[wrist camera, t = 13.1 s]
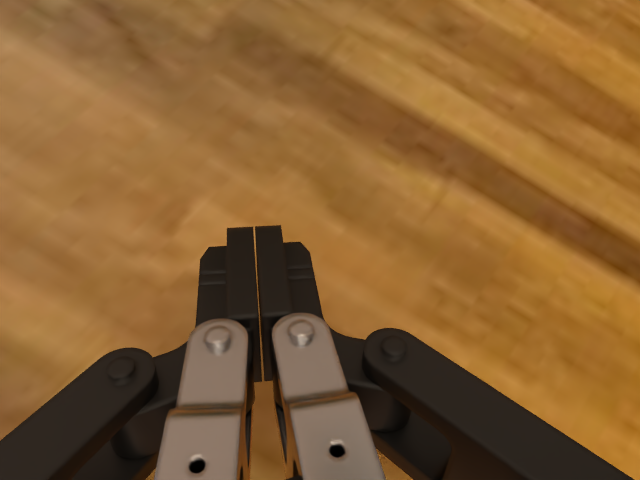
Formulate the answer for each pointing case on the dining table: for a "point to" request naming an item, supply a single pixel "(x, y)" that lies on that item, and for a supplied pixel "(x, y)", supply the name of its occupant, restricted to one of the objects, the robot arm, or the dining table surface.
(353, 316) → the dining table surface
